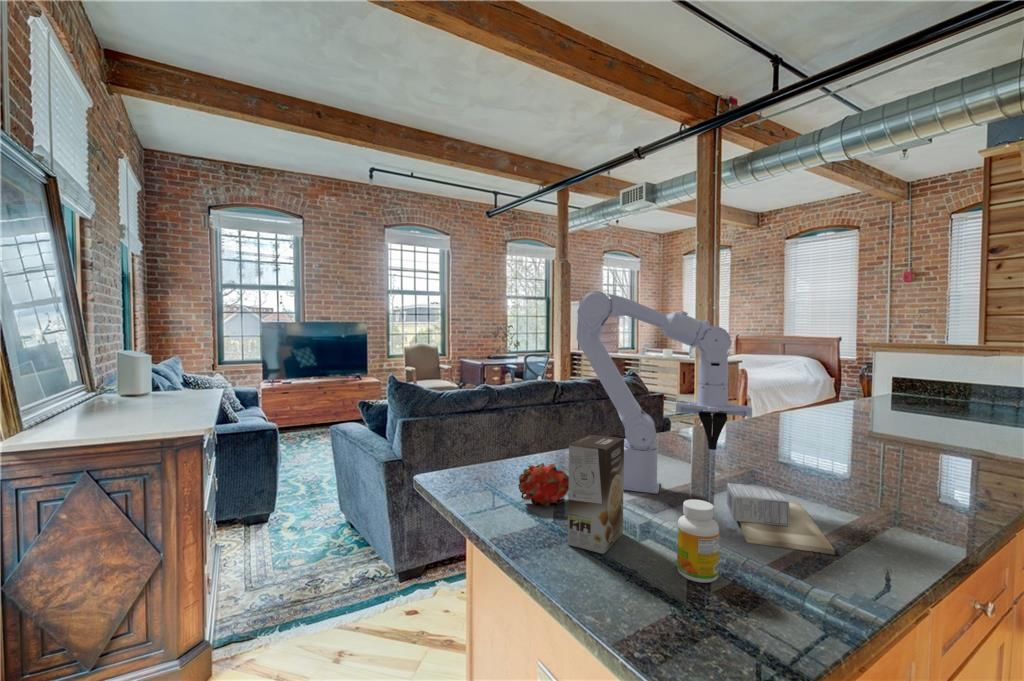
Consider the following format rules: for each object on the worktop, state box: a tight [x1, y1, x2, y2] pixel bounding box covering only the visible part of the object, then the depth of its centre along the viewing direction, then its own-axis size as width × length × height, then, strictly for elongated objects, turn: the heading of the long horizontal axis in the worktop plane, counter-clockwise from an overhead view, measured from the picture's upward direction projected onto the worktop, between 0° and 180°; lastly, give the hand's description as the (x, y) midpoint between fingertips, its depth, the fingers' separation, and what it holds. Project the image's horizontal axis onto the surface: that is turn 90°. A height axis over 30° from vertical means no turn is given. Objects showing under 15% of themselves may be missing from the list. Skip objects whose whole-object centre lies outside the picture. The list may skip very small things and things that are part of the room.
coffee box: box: [567, 434, 625, 555], centre depth 75 cm, size 9×6×16 cm
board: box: [738, 501, 836, 555], centre depth 82 cm, size 12×20×1 cm, turn 161°
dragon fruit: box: [517, 462, 569, 507], centre depth 91 cm, size 8×8×12 cm
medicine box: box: [726, 482, 790, 526], centre depth 83 cm, size 8×4×9 cm
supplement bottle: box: [676, 499, 720, 584], centre depth 64 cm, size 5×5×10 cm
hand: (712, 448), depth 97 cm, fingers closed
